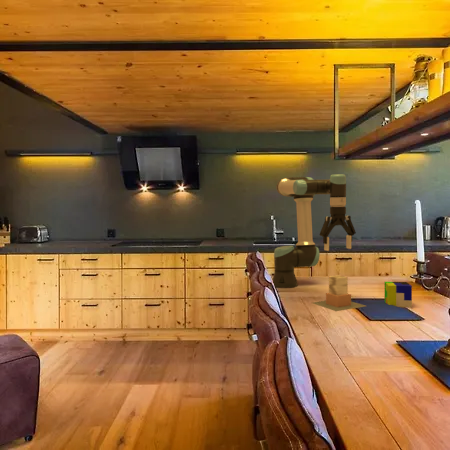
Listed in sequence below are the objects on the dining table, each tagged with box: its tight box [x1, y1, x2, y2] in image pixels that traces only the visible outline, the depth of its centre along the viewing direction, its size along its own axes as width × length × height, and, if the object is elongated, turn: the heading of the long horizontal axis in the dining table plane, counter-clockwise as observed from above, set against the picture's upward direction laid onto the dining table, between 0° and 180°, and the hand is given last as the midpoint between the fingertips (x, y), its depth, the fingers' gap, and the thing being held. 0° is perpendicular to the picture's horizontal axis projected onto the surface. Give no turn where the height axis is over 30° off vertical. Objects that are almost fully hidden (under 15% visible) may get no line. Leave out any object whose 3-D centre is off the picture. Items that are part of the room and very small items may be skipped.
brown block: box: [328, 274, 349, 296], centre depth 191 cm, size 6×6×8 cm
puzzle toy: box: [384, 281, 413, 309], centre depth 192 cm, size 10×10×10 cm
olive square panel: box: [312, 300, 366, 312], centre depth 191 cm, size 18×18×1 cm
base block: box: [325, 292, 352, 307], centre depth 191 cm, size 8×8×5 cm
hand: (337, 249), depth 200 cm, fingers open, 13 cm apart
